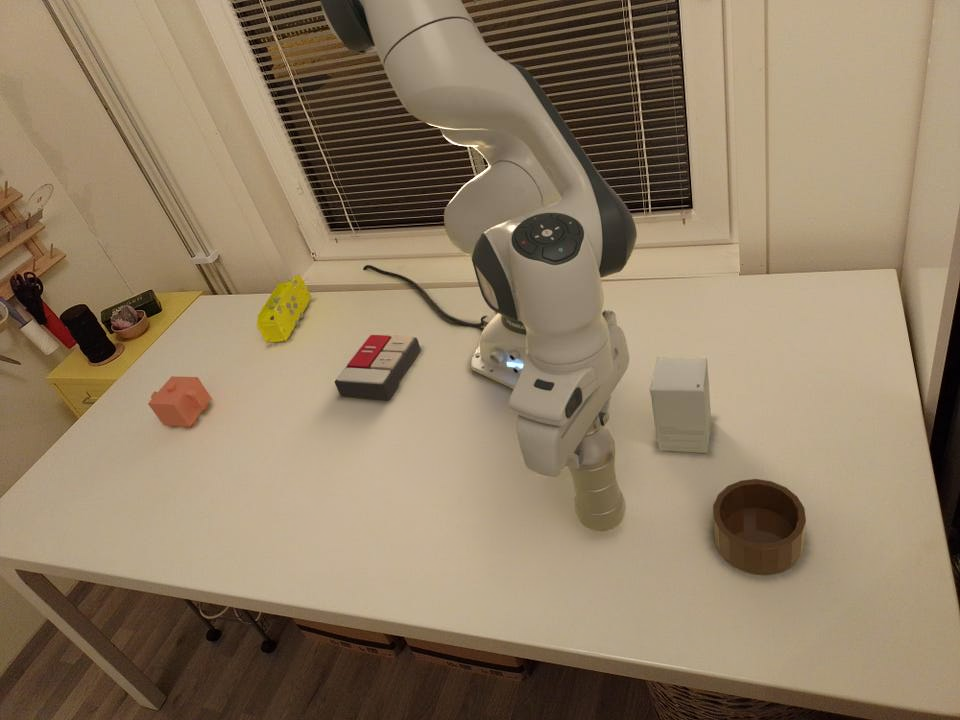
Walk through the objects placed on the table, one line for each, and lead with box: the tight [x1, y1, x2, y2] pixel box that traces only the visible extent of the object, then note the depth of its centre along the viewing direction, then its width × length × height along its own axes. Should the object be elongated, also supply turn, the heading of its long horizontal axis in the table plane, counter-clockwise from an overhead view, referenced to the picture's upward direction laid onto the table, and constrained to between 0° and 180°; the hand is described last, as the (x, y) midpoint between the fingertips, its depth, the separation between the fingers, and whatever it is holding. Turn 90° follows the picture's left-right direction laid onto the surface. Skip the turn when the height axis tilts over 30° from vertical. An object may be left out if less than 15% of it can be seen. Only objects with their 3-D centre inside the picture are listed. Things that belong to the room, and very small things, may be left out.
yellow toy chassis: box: [256, 275, 312, 344], centre depth 157 cm, size 16×6×8 cm, turn 169°
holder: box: [712, 478, 807, 576], centre depth 89 cm, size 11×11×6 cm
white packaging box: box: [649, 356, 712, 454], centre depth 103 cm, size 7×7×13 cm
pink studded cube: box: [147, 375, 213, 428], centre depth 139 cm, size 8×12×8 cm, turn 72°
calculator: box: [334, 334, 422, 401], centre depth 136 cm, size 11×4×15 cm
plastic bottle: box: [567, 414, 627, 532], centre depth 89 cm, size 6×7×20 cm
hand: (587, 442), depth 85 cm, fingers closed on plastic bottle, 6 cm apart
